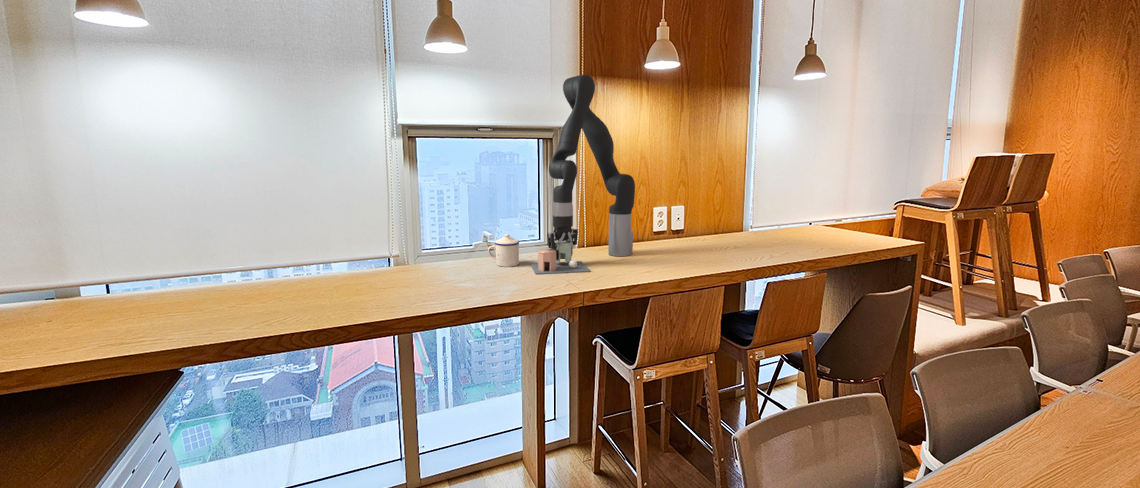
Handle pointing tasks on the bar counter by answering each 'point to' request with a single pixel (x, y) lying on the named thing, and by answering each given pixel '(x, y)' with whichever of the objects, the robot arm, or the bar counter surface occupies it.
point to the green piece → (564, 251)
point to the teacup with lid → (506, 251)
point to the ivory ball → (572, 264)
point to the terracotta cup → (547, 259)
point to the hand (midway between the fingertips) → (562, 257)
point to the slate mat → (561, 268)
